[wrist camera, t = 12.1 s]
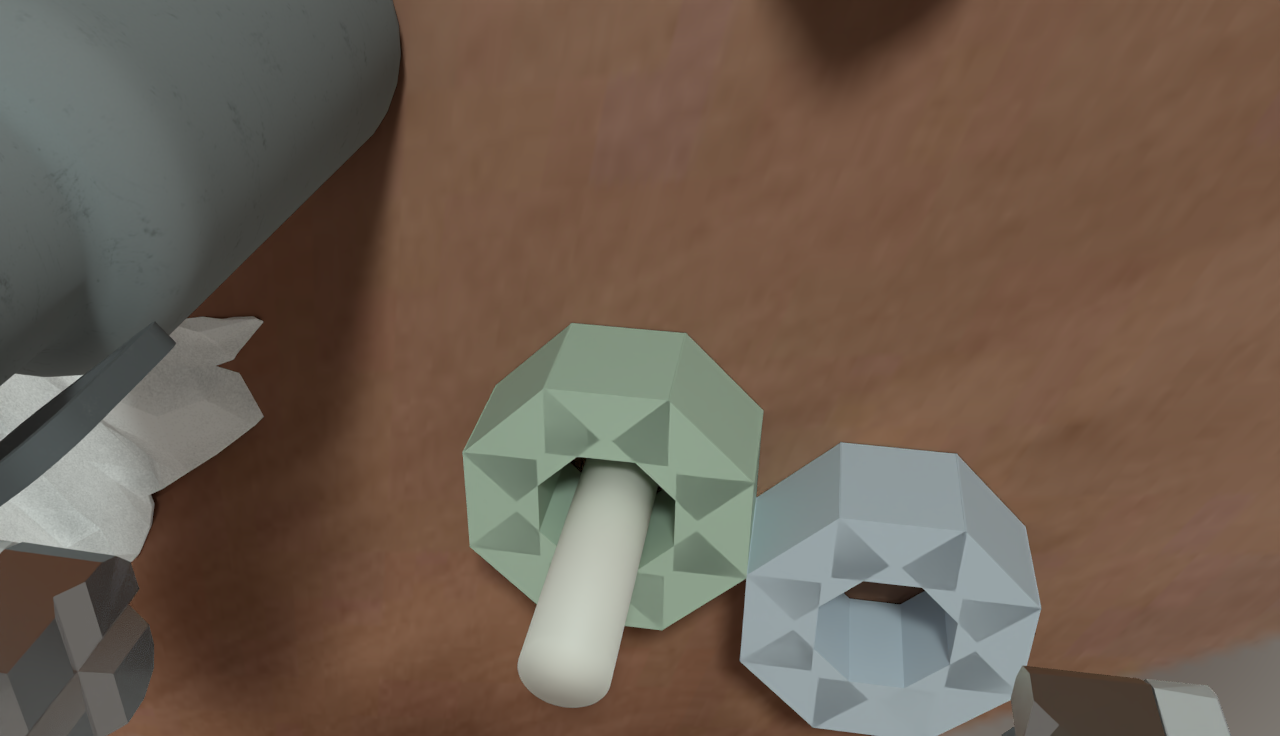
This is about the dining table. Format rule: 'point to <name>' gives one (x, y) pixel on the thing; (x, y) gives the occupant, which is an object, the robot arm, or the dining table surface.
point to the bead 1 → (620, 431)
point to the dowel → (589, 586)
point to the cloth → (132, 443)
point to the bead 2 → (892, 554)
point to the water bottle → (157, 174)
